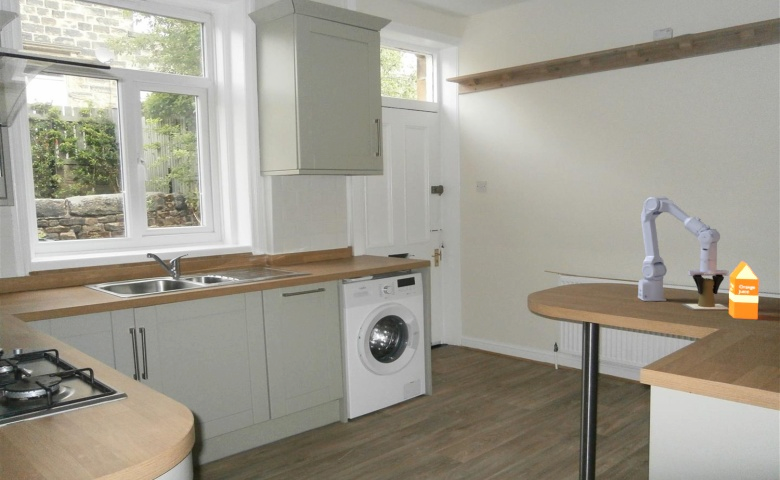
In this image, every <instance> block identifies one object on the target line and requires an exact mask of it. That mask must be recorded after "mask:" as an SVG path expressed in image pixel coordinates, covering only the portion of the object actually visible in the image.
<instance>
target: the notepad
mask: <svg viewBox="0 0 780 480" xmlns="http://www.w3.org/2000/svg"><path fill="white" fill-rule="evenodd" d="M681 305H682V306H684V307H686V308H687V309H690V310H691V311H729V306H727V305H724V304H722V303H715V307H701V306H698V303H681Z"/></svg>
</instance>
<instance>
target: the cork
mask: <svg viewBox="0 0 780 480" xmlns="http://www.w3.org/2000/svg"><path fill="white" fill-rule="evenodd" d="M703 278H704V280H703V292H702V294H699V298H698V303H697V304H698V306H701V307H715V304H716V303H715V296H714V295H715V294H714V293H713V286H714V280H713V279H712V278H705V277H703Z"/></svg>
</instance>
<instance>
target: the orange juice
mask: <svg viewBox="0 0 780 480" xmlns="http://www.w3.org/2000/svg"><path fill="white" fill-rule="evenodd" d="M759 283H760V280H759V278H758V277H757V275H756V274H755V273H754V271H753V270H752V268H751V267H750V266H749V265H748V263H746V262H745V261H741V262H740V263H739V264H738V265H737V266H736V267H735V268H734V270H733V271H732V273H730V275H729V291H728V292H729V293H728V298H729V300H728V302H729V303H728V307H729V310H728V314H729V316H731V317H732V318H733V319H744V320H746V319H747V320H758V317H759V316H758V313H759V312H758V310H759V285H760V284H759Z"/></svg>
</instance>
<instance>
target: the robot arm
mask: <svg viewBox="0 0 780 480" xmlns="http://www.w3.org/2000/svg"><path fill="white" fill-rule="evenodd" d="M642 205H643V208H642V210H641V211H642V212H641V214H640V222H641V230H642V238H643V246H644V247H643V248H644V253H645V258H644V260H642V268H641V275H642V276H643V277H644V278H641V279H639V280H638V283H637V285H638V287H637V298H638V299H640V300H642V301H644V302H645V301H646V302H656V301H657V302H664V301H666V302H667V299H665V297H664V276H666V274H667V271H668V270H667V269H668V268H667V266H666V265H665V263H664V259H663V258H662V256H660V249H659V241H658V234H657V233H658V232H657V227H656V225H657V224H656V219H657V218H658V217H659V216H660V215H661V214H663V213H668V214H670V215H671V216H672V217H674V218H676V220H679V221H680V222H682V223H683V224H684V228H685V229H686V230H687V231H688V232H689V233H691V234H693V235H694V236H695V237H696V238H697V240H698V242H699V244H700V261H699V269H695V270H694V269H692V270H688V271H687V276H689V277H692V279H693V281H694V282H695V285H696V289H697V293H698V294H699V295H700V294H702V292H703V280H704V278H705V276H709V277H710V276H711V279H713V280H714V286H713V294H714V295H718V292H719V289H720V286H721V284H722V283H723V281H724V279H725V276H726V277H729V270H724V269H723V270H720V269H717V265H718V264H717V262H718V259H717V258H718V243H719V241H720V239H721V234H720V233H719V231H718V230H717V229H716V228H711V226H710V225H706V224H705V223H704V222H703V221H702V219H701V218H700V217H696V216H690V215H688V214H687V213H686V212H685V211H684V210H682V209H681V208H680V207H679V206H678V205H677V204H676V203H674V202H673V200H671V199H669V198H668V197H667V196H649V197H648V198H647V199H645V201H643V203H642ZM703 276H704V277H703Z"/></svg>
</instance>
